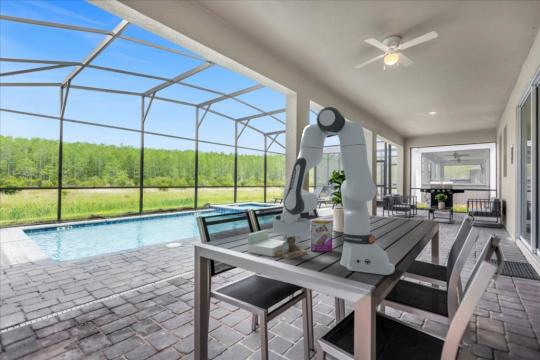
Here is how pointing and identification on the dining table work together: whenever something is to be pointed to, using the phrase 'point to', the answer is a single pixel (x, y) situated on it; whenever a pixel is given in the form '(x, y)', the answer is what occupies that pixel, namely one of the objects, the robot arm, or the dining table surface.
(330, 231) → the candy bar box
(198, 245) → the dining table surface
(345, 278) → the dining table surface
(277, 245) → the white l-shaped block
